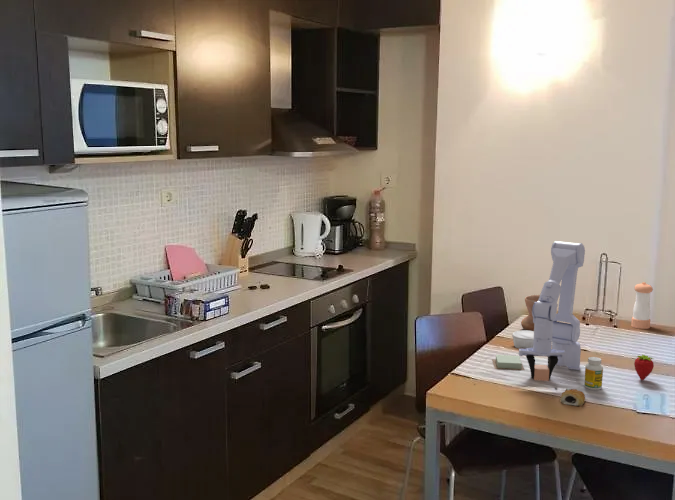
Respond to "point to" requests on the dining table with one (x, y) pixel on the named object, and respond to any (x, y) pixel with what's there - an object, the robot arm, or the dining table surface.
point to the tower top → (508, 362)
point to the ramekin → (523, 339)
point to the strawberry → (643, 366)
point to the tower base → (504, 368)
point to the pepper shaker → (642, 306)
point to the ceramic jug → (528, 321)
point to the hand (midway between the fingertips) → (540, 377)
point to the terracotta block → (541, 372)
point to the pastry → (573, 397)
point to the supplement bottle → (593, 374)
